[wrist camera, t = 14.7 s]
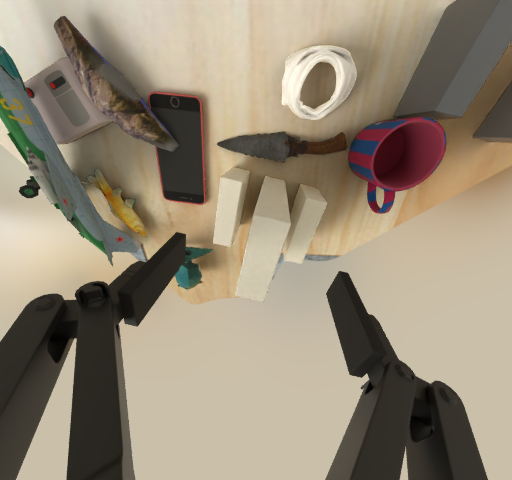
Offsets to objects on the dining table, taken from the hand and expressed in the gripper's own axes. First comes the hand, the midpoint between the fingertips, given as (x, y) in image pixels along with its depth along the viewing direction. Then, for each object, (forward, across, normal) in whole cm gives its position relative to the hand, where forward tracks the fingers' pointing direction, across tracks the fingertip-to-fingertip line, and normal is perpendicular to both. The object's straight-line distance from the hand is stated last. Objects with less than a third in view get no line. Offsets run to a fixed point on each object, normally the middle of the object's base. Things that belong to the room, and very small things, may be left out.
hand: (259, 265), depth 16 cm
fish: (+14, -21, -4) cm, 26 cm away
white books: (+16, 0, 0) cm, 16 cm away
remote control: (+16, -29, +6) cm, 34 cm away
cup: (+16, +12, +9) cm, 22 cm away
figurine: (+14, -14, -12) cm, 23 cm away
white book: (+16, 0, 0) cm, 16 cm away
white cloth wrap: (+16, +2, +15) cm, 22 cm away
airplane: (+7, -32, -1) cm, 33 cm away
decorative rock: (+14, -19, +11) cm, 26 cm away
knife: (+16, 0, +8) cm, 18 cm away
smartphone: (+16, -14, +4) cm, 21 cm away
